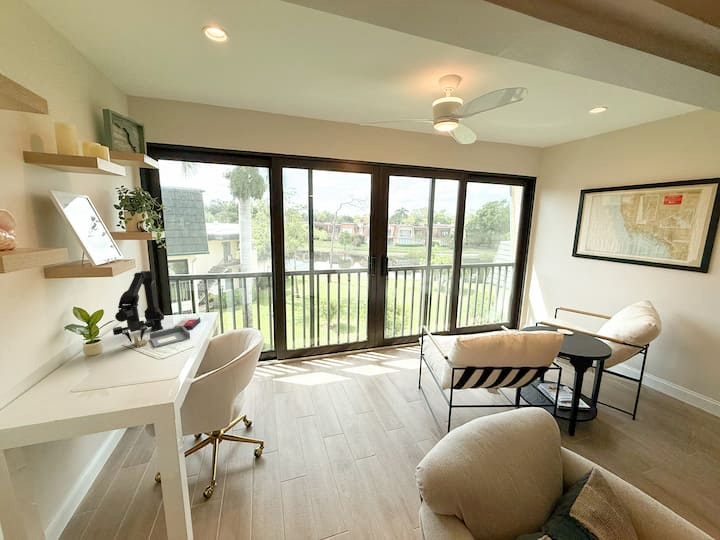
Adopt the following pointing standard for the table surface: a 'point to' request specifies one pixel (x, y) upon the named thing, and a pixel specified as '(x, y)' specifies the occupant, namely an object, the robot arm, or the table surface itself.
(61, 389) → the table surface
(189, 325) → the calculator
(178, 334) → the arena
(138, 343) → the bracket
